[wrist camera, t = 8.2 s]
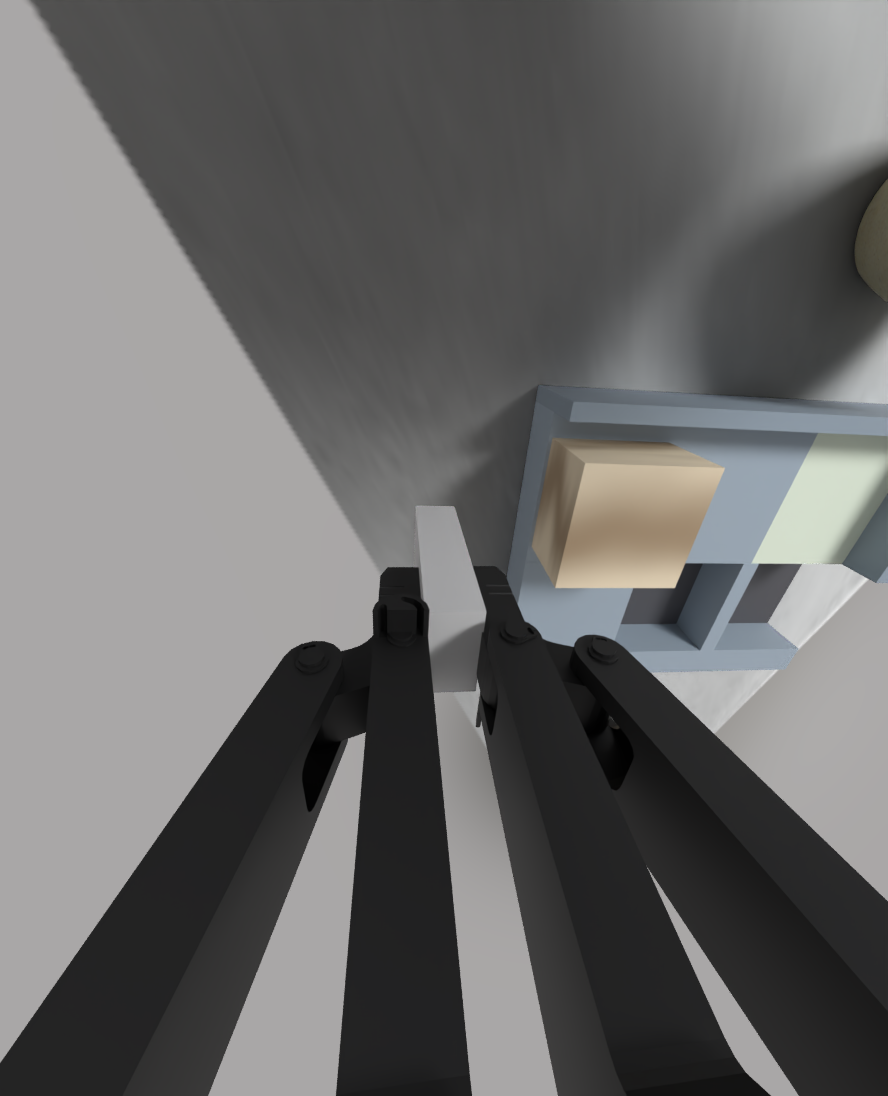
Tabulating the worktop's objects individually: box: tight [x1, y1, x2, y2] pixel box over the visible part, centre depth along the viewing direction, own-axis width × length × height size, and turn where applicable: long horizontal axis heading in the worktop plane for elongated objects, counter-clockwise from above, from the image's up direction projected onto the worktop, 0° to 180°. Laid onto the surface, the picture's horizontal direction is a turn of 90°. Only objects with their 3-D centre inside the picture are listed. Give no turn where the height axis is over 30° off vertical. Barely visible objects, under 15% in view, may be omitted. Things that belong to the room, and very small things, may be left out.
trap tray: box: [507, 385, 888, 672], centre depth 24 cm, size 18×21×5 cm
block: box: [532, 438, 725, 588], centre depth 19 cm, size 6×6×4 cm
